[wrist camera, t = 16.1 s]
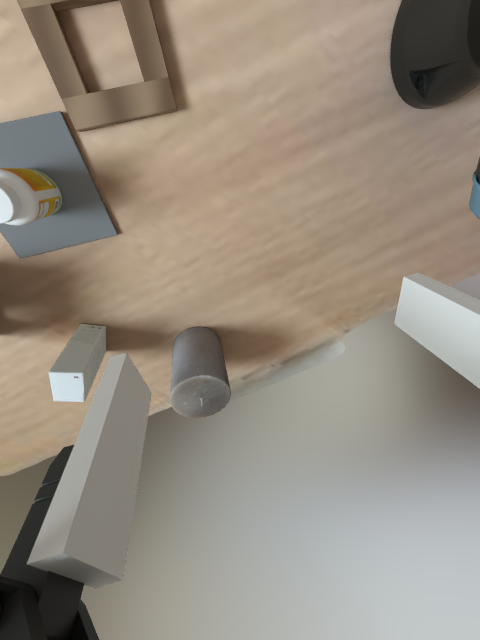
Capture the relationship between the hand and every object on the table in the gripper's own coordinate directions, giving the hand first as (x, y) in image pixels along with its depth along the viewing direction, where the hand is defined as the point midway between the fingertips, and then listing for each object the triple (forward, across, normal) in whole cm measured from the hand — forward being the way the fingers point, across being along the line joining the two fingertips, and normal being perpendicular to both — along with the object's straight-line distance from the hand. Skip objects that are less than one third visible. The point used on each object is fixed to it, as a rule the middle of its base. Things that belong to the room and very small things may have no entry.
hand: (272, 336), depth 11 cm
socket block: (+31, -7, +19) cm, 37 cm away
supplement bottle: (+30, -21, +8) cm, 38 cm away
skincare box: (+31, -26, -15) cm, 43 cm away
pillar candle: (+31, -9, -23) cm, 40 cm away
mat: (+31, -21, +8) cm, 38 cm away
